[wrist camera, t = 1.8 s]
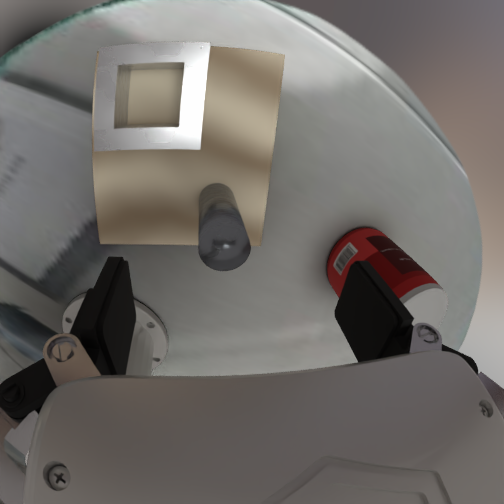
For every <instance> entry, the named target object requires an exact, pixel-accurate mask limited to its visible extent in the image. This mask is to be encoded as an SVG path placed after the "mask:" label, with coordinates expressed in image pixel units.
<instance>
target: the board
mask: <svg viewBox="0 0 504 504" xmlns="http://www.w3.org/2000/svg"><path fill="white" fill-rule="evenodd" d="M98 57H99V51H97V59H96V68H95V79H94V92H93V114H92V157H93V179H94V193H95V205H96V215H97V224H98V232H99V239H100V244H151V245H198V223H199V196H200V193H201V191H202V190H203V189H204V188H205V187H206V186H208V185H210V184H213V183H221V184H225V185H226V186H228V187H229V188H230V189H231V190H232V192H233V194H234V197H235V200H236V203H237V205H238V208H239V211H240V214H241V217H242V220H243V223H244V226H245V228H246V231H247V234H248V237H249V240H250V244H251V246H261V239H262V232H263V225H264V217H265V209H266V202H267V194H268V187H269V179H270V171H271V164H272V156H273V148H274V140H275V132H276V124H277V116H278V108H279V100H280V92H281V84H282V76H283V68H284V59H285V55H283V54H277V53H271V52H264V51H257V50H248V49H239V48H228V47H214V46H210V52H209V61H208V69H207V78H206V88H205V98H204V109H203V120H202V133H201V147H200V150H192V149H139V150H113V151H96V152H94V107H95V89H96V76H97V66H98ZM183 75H184V69H152V70H133V71H131V75H130V86H129V100H128V120H127V125H131V124H179V121H180V108H181V95H182V85H183Z"/></svg>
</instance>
